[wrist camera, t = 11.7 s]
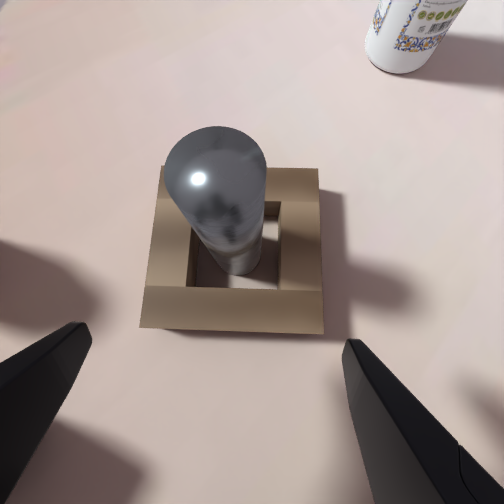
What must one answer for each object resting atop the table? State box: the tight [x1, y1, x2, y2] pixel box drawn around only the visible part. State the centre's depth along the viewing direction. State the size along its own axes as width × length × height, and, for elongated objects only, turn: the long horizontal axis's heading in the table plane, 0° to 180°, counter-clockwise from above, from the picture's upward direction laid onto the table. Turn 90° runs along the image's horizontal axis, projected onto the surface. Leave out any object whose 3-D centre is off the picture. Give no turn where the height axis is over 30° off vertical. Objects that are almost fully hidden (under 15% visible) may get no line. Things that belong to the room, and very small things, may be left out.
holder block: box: [139, 166, 324, 334], centre depth 21 cm, size 13×13×3 cm
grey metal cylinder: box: [164, 126, 267, 275], centre depth 16 cm, size 4×4×13 cm
